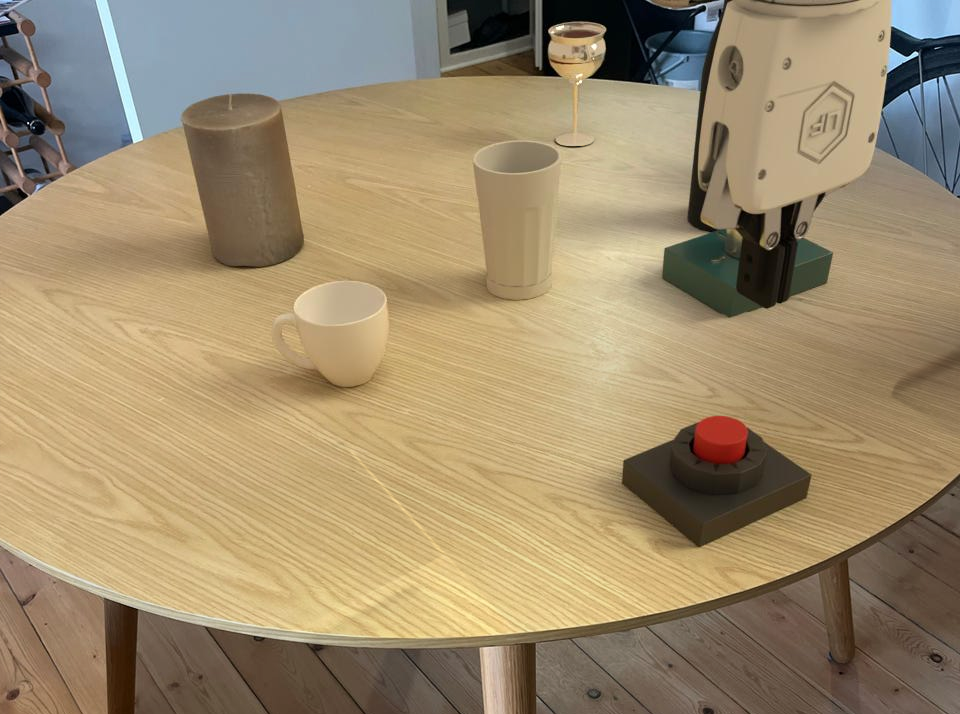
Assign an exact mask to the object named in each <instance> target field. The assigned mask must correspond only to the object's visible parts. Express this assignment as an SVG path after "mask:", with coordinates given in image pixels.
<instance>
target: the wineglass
mask: <svg viewBox="0 0 960 714" xmlns="http://www.w3.org/2000/svg"><path fill="white" fill-rule="evenodd" d="M606 32H607V28H606V27H605V26H604V25H602V24H600V23H596V22H590V21H570V22H563V23H559V24H556V25H553V26H551V27H550V28H549V29H548V34H549V36H550V41H549V43H548V46H547V59H548V60H549V64H550V67H552V68H553V69H554V71H555V72H556V73H557V74H558V75H559V76H560V77H562V78H563V79H566V80H568V82H569V84H570V85H572V126H573V128H572V129H573V130H572V131H573V132H566V133H562V134H563V135H562V134H560V135H561V136H559V135H558V136H559V138H558V140H559V141H560V142H562V143H566V144H577V143H579V144H581V143H585V142H588V141H589V139H590V138H591V137H590V135H591V134H589V133H584V132H579V131H577V127H578V112H579V95H580V85H581V84H582V83H583V82H584V80H585V79H587V78H589V77H592V76H593V75H594V74H595V73H596V72H597V71H598V69H600V67H601V66H602V65H603V62H604V61H605V58H606V52H607V48H606V41H605V39H604V37H605V35H606ZM588 134H589V135H588Z"/></svg>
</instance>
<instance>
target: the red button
mask: <svg viewBox="0 0 960 714" xmlns="http://www.w3.org/2000/svg"><path fill="white" fill-rule="evenodd" d="M698 422H699V423H698V424H697V426H696V430H695V438H694V446H693V450H694V453H695V455H696V456H697V457H698V458H699V459H701V460H703V461H707V462H711V463H714V464H732V463H735V462H737V461H739V460H740V459H741V458H742V457H743V455H744V453H745V447H746V441H747V435H748V430H747V428H748V426H746V424H745V423H744V422H742V421H740V420H739V419H737V418H735V417H731V416H726V415H712V416H709V417H705V418H703V419H701V420H700V421H698Z"/></svg>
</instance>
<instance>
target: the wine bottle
mask: <svg viewBox="0 0 960 714" xmlns="http://www.w3.org/2000/svg"><path fill="white" fill-rule="evenodd" d="M730 1H732V0H723V6H722V7H723V9H722V10H721V14H720V15H719V18H718V20H717V23H716V26H715V28H714V30H713V33H712V35H711V37H710V41H709V44H708V48H707V51H706V54H705V58H704V62H703V63H704V64H703V67H702V70H701V81H700V90H699V100H698V108H697V109H698V110H697V119H696V120H697V121H696V128H695V129H696V130H695V141H694V147H693V148H694V149H693V157H692V158H693V159H692V169H691V179H690V189H689V198H688V200H689V201H688V206H687V207H688V209H687V218H686V219H687V221H688V223H689V224H690V225H691V226H693V227H695V228H697V229H699V230H702V231H707V232H714V231H717V230H720V229H715V228H713V227H711V226H709V225H707V224H705V223H703V222H702V221H701V218H700V217H701V212H702V208H703V205H704V201H705V197H706V194H707V192H706V191H704V190H702V189H701V188H700V185H699V180H698V156H699V143H700V135H701V126H702V118H703V112H704V105H705V99H706V92H707V87H708V81H709V76H710V71H711V66H712V61H713V57H714V52H715V48H716V44H717V39H718V35H719V31H720V27H721V24H722V20H723V17H724V13H725V9H726V6H727V3H728V2H730Z"/></svg>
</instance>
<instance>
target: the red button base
mask: <svg viewBox="0 0 960 714" xmlns="http://www.w3.org/2000/svg"><path fill="white" fill-rule="evenodd" d="M699 422H700V421H698V422H695V423H693V424H690V425H688V426H685V427H683V428H680V430H679V431H678V432H677V434H676V436H675V437H674V438H673V439H671V440H669V441H666V442H664V443H662V444H659V445H657V446H655V447H652V448H650V449H647V450H644V451H642V452H640V453H637V454H635V455H632V456H630V457H627V458H625V459H623V461H622V474H621V475H622V476H621V484H622V485H623V486H624V487H626V489H628V490H629V491H631V493H632V494H634V495H635V496H636V497H638V499H640V501H642V502H643V503H644V504H646V505H647V506H648V507H649V508H651V509H652V510H653V511H654V512H656V513H657V515H659V516H660V517H661V518H662V519H664V520H665V521H666V522H668V523H669V525H671V526H672V527H673V528H674V529H676V530H677V531H678V532H679V533H681V534H682V535H683V536H684V537H686V539H688V540H689V541H690V542H691V543H693V544H694V545H695V546H696V547H697V548H702V547H704V546H706V545H709V544H711V543H713V542H714V541H717V540H719V539H721V538H723V537H725V536H727V535H730V534H732V533H734V532H736V531H738V530H741V529H743V528H746V527H748V526H749V525H751V524H753V523H756V522H758V521H760V520H762V519H765V518H767V517H768V516H771V515H773V514H775V513H778V512H779V511H782V510H784V509H786V508H789V507H791V506H793V505H795V504H797V503H799V502H801V501H803V500H806V499H807V497H808V492H809V488H810V485H811V481H812V480H811V479H812V475H813V474H812V473H810V472H809V471H807V470H806V469H804V468H803V467H801V466H800V465H798V464H797V463H796V462H794V461H793V460H791V459H790V458H788V457H787V456H786V455H784V454H782V453H781V452H780V451H778V450H777V449H775V448H774V447H773V446H771V445H770V444H768V443H767V442H765V441H764V439H763V437H762V436H761V435H759V434H757V432H754V431H753V430H752V429H750V428H749V427H747V430H748V435H747V441H746V447H745V453H744V455H743V457H742V458H741V459H740V460H739V461H737V462H735V463H732V464H714V463H711V462H707V461H703V460H701V459H699V458H698V457H697V456H696V455H695V453H694V450H693V446H694V438H695V430H696V426H697V424H698V423H699Z"/></svg>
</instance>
